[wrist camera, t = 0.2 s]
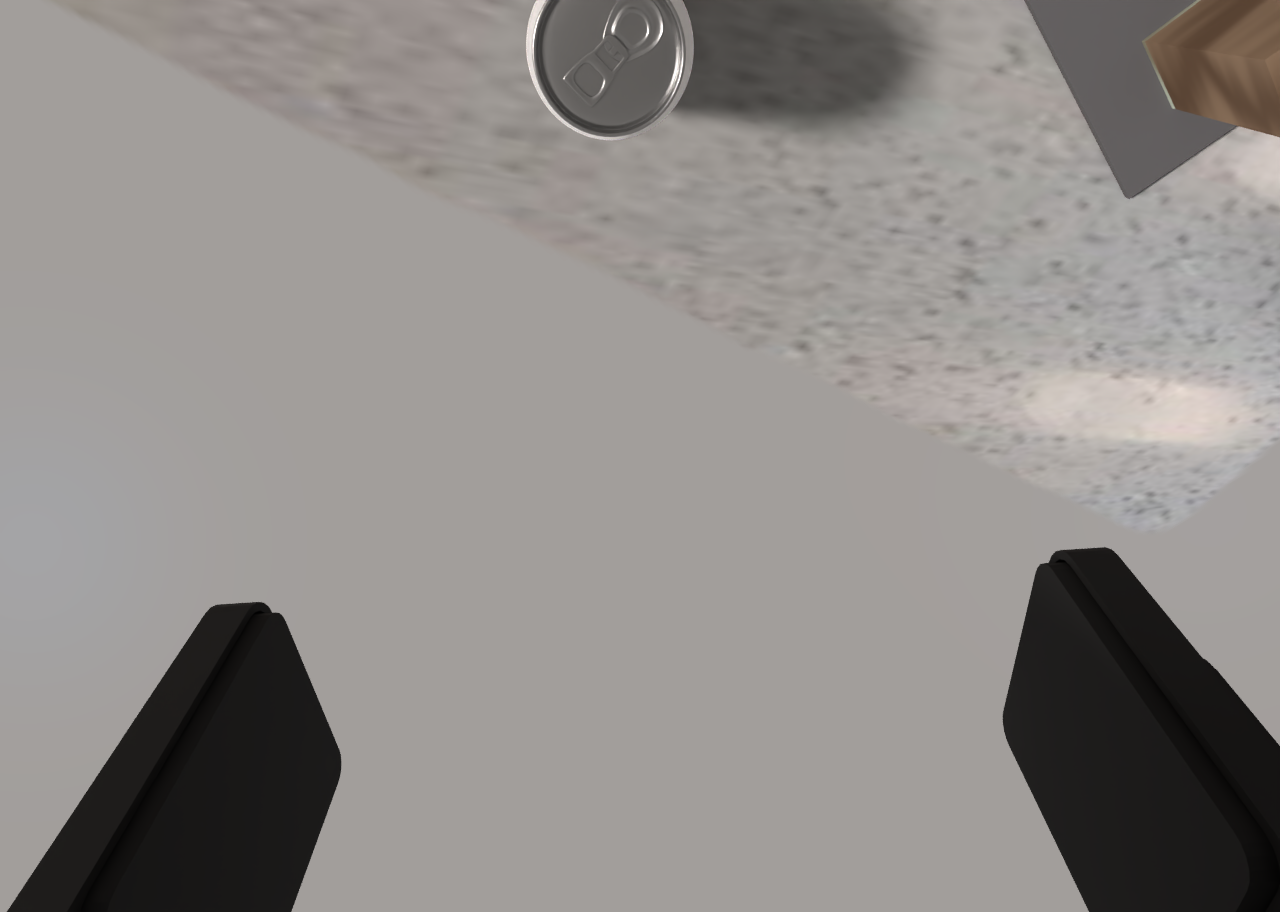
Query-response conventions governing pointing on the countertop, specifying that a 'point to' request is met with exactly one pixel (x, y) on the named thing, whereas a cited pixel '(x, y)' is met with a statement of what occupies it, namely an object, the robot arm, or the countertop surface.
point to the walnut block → (1222, 61)
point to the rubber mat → (1123, 84)
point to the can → (610, 62)
